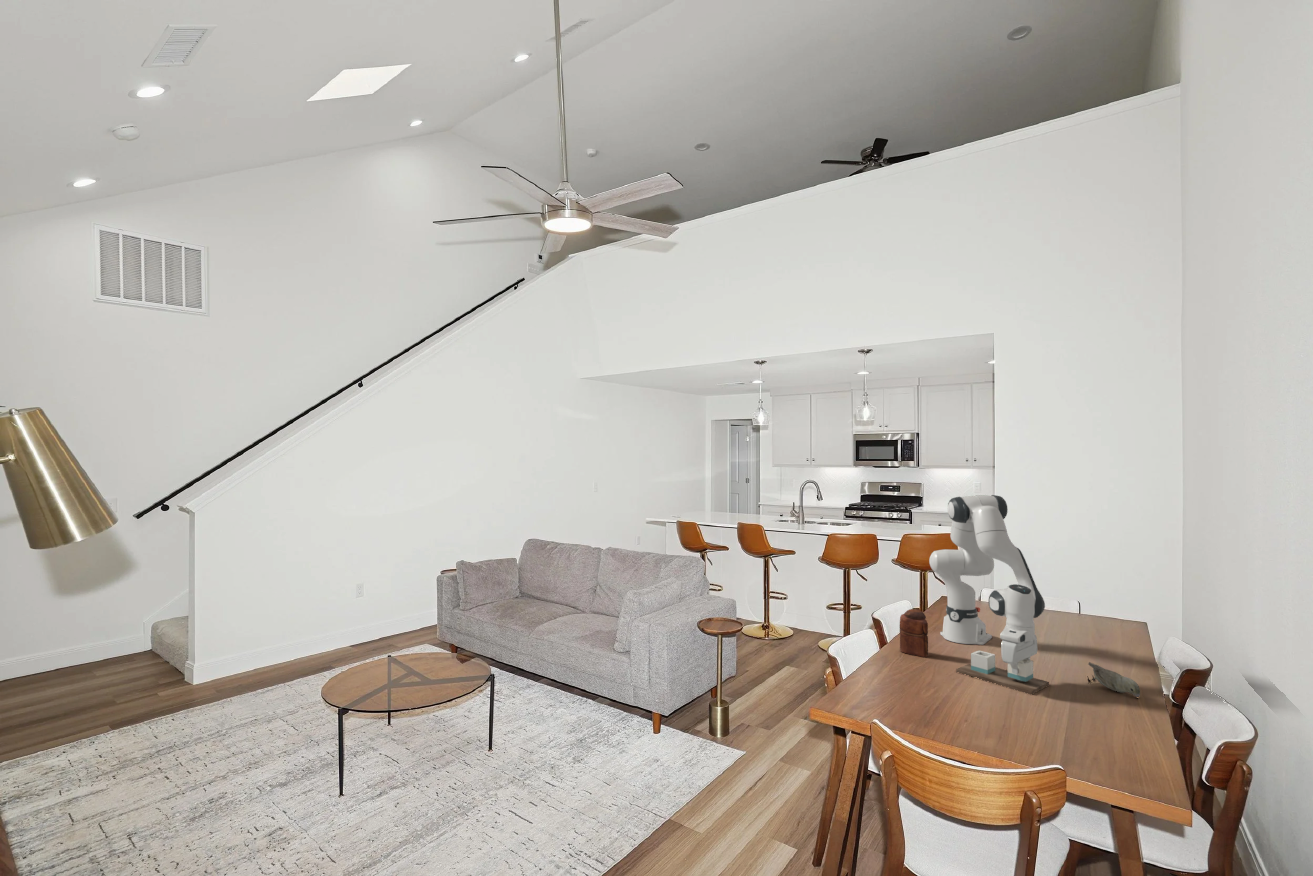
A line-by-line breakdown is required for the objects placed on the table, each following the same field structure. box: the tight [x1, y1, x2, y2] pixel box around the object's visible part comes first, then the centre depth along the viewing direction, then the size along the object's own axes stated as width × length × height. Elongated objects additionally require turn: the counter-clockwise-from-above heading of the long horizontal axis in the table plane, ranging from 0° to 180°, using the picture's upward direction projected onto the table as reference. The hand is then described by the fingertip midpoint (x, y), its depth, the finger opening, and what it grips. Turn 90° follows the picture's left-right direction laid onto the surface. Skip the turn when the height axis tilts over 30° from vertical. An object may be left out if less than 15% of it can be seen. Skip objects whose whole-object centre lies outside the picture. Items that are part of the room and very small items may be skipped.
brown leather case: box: [899, 608, 929, 658], centre depth 253 cm, size 12×6×18 cm, turn 49°
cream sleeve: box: [1007, 659, 1034, 682], centre depth 220 cm, size 6×6×6 cm
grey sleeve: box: [970, 649, 996, 674], centre depth 231 cm, size 6×6×6 cm
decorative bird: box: [1087, 661, 1141, 698], centre depth 215 cm, size 5×16×7 cm, turn 24°
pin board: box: [955, 655, 1050, 695], centre depth 225 cm, size 14×26×7 cm, turn 37°
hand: (1020, 671), depth 220 cm, fingers closed on cream sleeve, 6 cm apart
